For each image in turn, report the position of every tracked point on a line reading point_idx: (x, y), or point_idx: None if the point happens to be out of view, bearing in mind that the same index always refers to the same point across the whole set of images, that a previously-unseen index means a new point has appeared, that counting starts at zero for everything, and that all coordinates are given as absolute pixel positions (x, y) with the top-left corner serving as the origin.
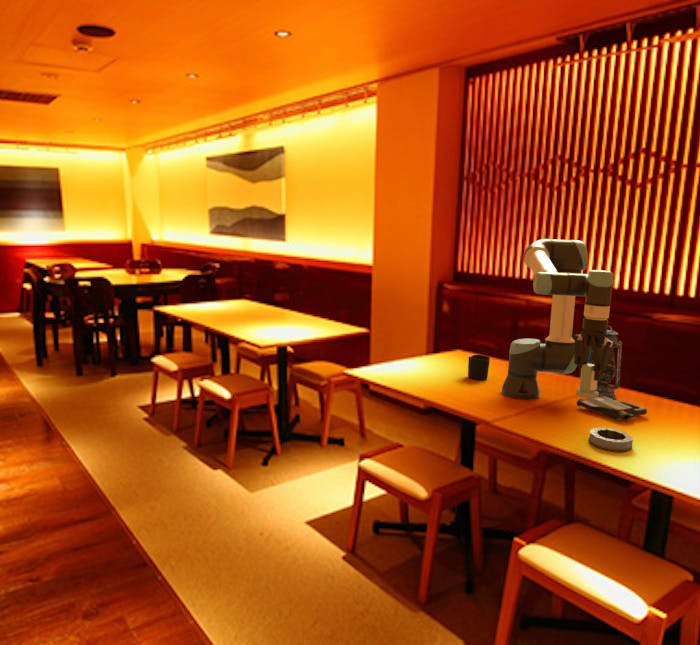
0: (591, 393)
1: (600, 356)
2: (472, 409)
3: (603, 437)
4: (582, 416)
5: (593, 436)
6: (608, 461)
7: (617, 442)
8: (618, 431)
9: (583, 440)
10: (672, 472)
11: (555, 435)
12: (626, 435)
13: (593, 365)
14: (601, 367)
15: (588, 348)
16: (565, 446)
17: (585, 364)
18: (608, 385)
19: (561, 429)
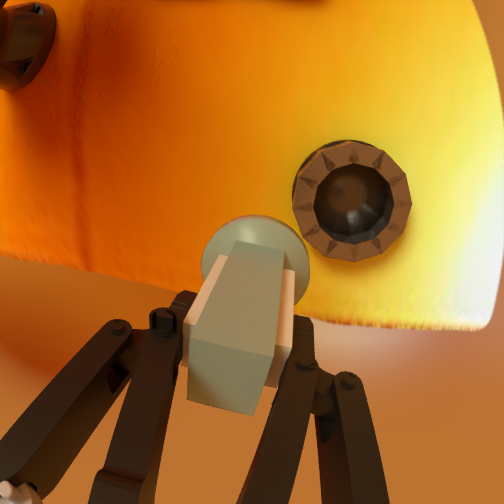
0: None
1: (295, 463)
2: (33, 235)
3: (344, 245)
4: (191, 25)
5: (316, 247)
6: (370, 305)
7: (382, 252)
8: (363, 156)
9: None
10: (476, 263)
11: None
12: (391, 176)
13: (248, 380)
14: (328, 422)
15: (151, 493)
16: None
17: (194, 386)
18: None
19: (203, 187)
